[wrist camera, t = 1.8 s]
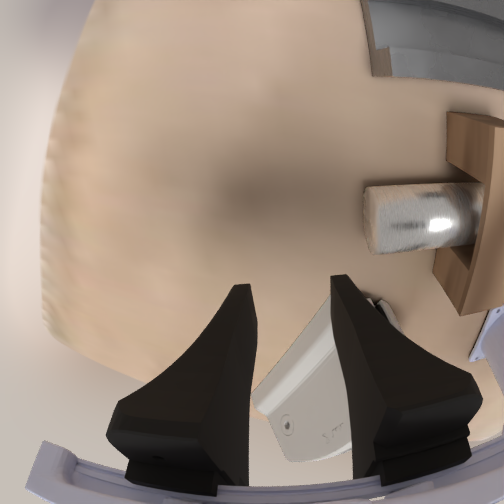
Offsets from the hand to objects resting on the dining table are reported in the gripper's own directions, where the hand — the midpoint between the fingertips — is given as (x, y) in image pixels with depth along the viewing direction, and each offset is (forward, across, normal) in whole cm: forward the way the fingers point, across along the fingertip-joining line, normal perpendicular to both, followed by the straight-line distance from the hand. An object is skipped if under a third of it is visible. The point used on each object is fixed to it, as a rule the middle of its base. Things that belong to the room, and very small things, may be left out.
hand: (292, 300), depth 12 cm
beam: (+8, -13, 0) cm, 15 cm away
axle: (+9, -10, 0) cm, 13 cm away
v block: (+8, -12, -11) cm, 18 cm away
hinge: (+9, -2, +15) cm, 17 cm away
